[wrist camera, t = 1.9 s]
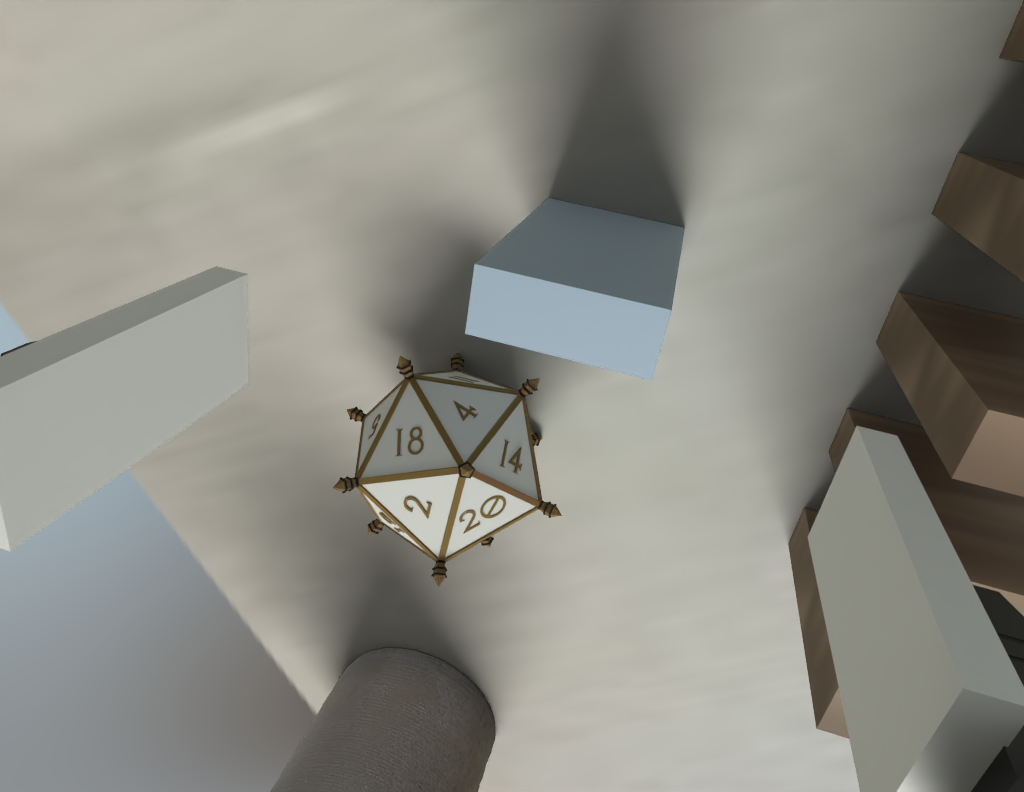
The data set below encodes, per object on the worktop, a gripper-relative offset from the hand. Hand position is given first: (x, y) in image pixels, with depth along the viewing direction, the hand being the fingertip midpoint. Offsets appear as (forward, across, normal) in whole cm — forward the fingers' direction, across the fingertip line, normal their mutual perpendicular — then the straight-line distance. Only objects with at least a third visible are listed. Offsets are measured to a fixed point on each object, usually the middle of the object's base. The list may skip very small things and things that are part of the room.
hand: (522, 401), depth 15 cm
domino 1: (+14, 0, 0) cm, 14 cm away
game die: (+14, -4, -8) cm, 17 cm away
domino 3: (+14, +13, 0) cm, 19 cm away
